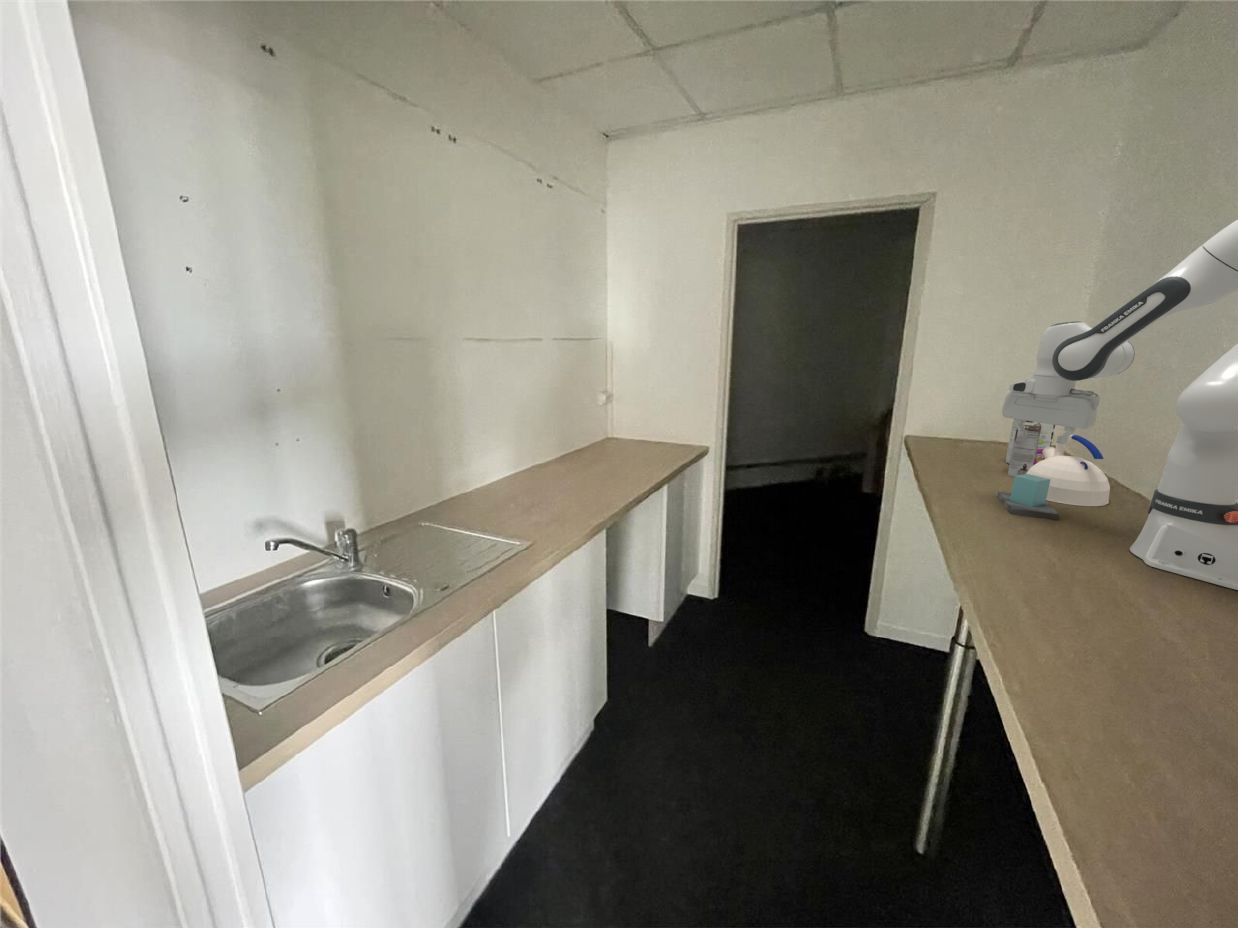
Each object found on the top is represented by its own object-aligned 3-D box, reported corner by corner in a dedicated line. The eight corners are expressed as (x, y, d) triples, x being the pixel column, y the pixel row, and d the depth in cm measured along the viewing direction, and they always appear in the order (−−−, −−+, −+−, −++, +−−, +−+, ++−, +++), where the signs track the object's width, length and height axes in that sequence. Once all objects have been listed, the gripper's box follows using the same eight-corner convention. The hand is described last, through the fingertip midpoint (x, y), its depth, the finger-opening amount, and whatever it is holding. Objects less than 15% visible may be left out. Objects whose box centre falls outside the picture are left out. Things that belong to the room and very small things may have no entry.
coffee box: (1007, 469, 180) (1017, 423, 176) (1031, 472, 176) (1041, 426, 172) (1006, 475, 173) (1016, 427, 169) (1031, 478, 169) (1041, 430, 165)
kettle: (1073, 486, 162) (1087, 429, 157) (1129, 508, 142) (1147, 444, 138) (1003, 483, 164) (1015, 427, 159) (1049, 505, 144) (1064, 442, 139)
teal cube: (1044, 504, 140) (1050, 479, 139) (1031, 506, 138) (1037, 481, 136) (1022, 497, 145) (1027, 473, 144) (1009, 500, 143) (1014, 475, 141)
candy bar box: (1040, 464, 187) (1050, 419, 183) (1046, 467, 182) (1057, 421, 178) (1004, 461, 190) (1013, 417, 186) (1009, 465, 186) (1019, 419, 181)
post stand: (997, 496, 151) (1002, 471, 149) (1039, 501, 147) (1045, 475, 145) (1010, 513, 137) (1016, 486, 135) (1058, 519, 133) (1064, 491, 131)
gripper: (1108, 391, 126) (1095, 447, 129) (1018, 383, 144) (1008, 432, 147) (1093, 392, 123) (1080, 449, 127) (1003, 383, 142) (993, 433, 145)
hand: (1040, 439), depth 137 cm, fingers open, 8 cm apart
